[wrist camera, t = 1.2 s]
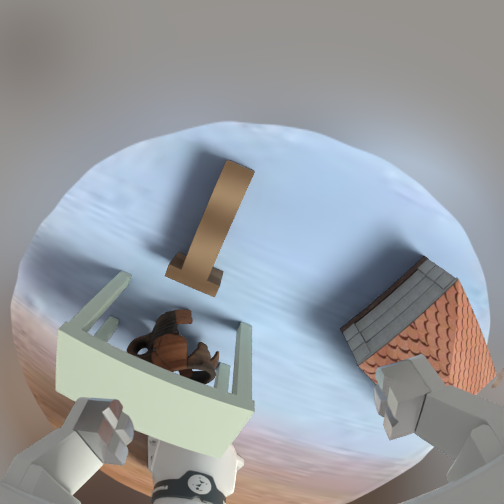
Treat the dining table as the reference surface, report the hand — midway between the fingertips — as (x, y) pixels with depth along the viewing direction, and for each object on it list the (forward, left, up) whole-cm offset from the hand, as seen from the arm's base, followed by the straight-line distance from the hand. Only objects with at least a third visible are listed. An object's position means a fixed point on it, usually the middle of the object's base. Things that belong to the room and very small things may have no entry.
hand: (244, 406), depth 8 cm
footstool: (-17, +3, -28) cm, 33 cm away
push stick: (-2, +3, -29) cm, 29 cm away
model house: (-6, -31, -29) cm, 43 cm away
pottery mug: (-18, +4, -30) cm, 35 cm away
